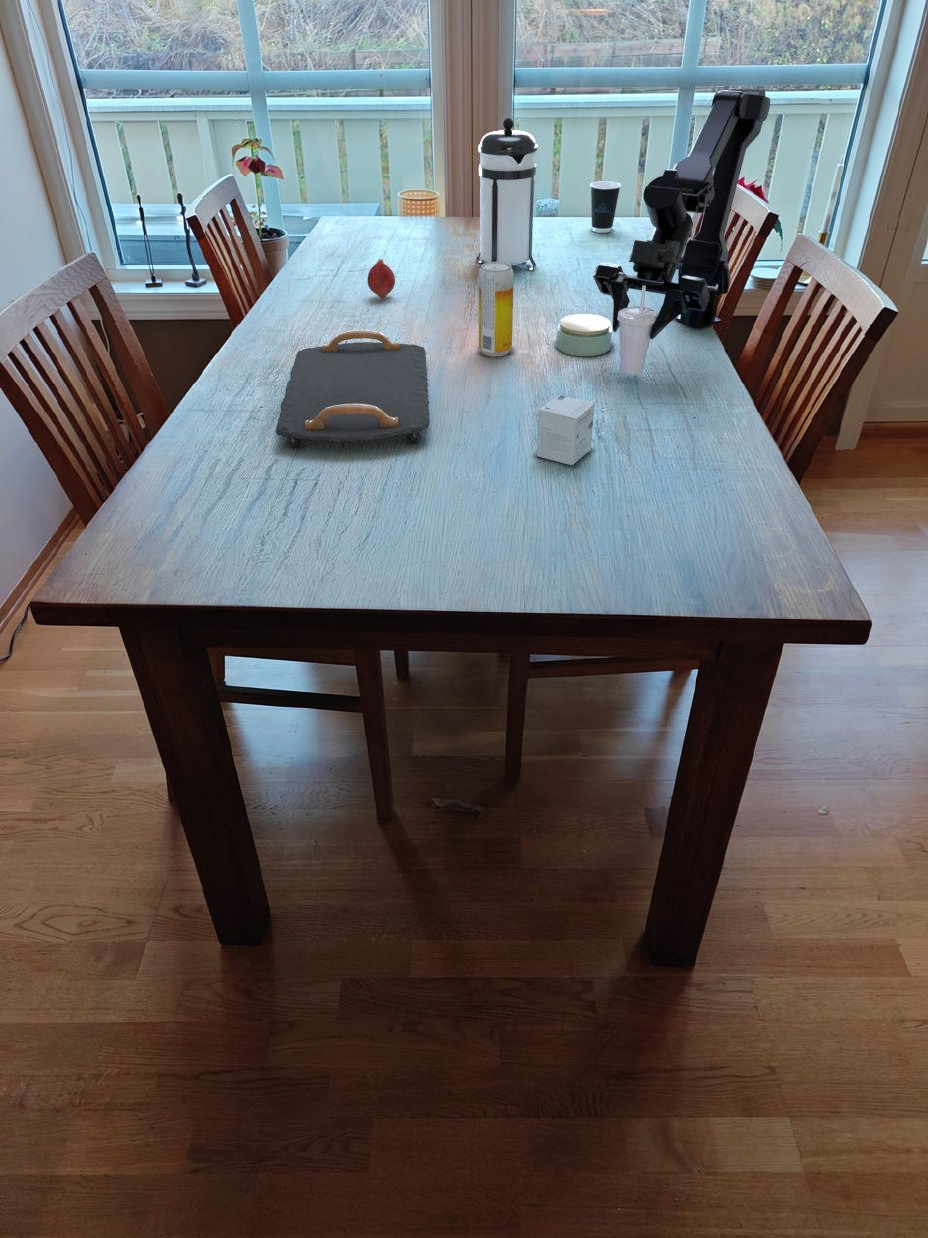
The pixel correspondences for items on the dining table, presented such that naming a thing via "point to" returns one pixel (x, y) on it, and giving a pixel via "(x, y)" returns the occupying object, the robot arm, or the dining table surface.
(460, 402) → the dining table surface
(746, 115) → the robot arm
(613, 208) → the dixie cup
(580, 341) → the jar
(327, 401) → the serving tray
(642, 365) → the smoothie
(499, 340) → the beer can
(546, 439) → the product carton
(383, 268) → the onion
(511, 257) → the coffee press
